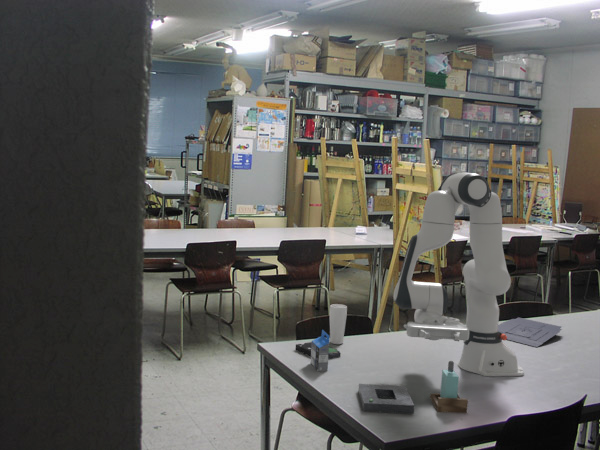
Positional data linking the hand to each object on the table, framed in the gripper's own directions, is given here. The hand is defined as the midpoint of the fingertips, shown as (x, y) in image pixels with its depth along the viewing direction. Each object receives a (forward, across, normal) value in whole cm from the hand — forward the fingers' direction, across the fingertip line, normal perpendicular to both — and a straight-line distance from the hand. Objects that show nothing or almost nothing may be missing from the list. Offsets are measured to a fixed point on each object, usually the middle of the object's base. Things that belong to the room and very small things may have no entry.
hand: (442, 337), depth 199 cm
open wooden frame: (+12, 0, +18) cm, 21 cm away
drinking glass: (-49, -30, +18) cm, 60 cm away
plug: (+12, 0, +18) cm, 21 cm away
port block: (+12, -18, +18) cm, 28 cm away
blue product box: (-18, -38, +18) cm, 45 cm away
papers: (-76, +55, +17) cm, 95 cm away
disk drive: (-34, -38, +19) cm, 54 cm away
